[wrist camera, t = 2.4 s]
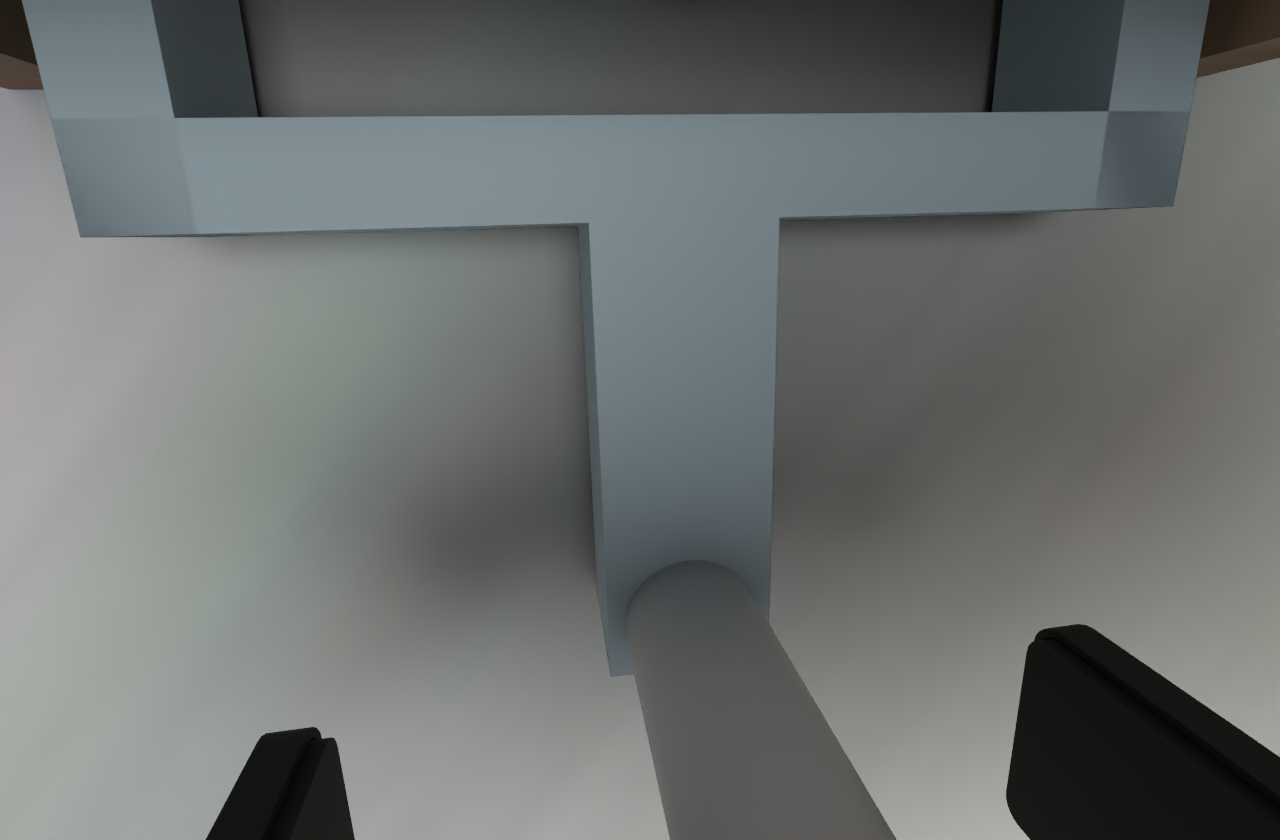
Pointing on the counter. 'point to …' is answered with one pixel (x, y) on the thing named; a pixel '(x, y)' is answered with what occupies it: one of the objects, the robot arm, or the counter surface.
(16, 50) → the small wooden table
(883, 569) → the counter surface
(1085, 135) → the sliding frame
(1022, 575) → the counter surface
